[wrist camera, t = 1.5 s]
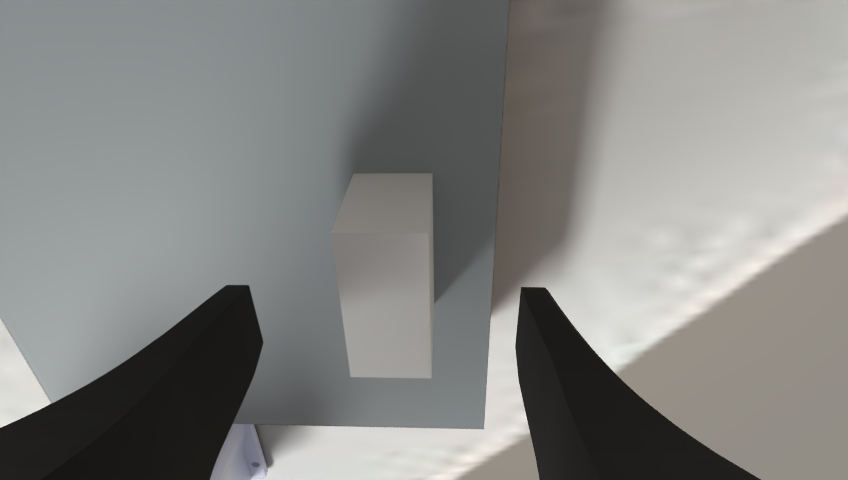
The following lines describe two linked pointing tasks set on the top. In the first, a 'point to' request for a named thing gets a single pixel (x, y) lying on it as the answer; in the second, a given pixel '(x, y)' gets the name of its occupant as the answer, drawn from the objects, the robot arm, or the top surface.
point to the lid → (258, 193)
